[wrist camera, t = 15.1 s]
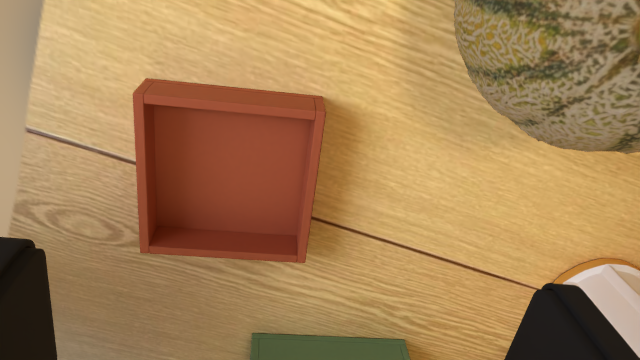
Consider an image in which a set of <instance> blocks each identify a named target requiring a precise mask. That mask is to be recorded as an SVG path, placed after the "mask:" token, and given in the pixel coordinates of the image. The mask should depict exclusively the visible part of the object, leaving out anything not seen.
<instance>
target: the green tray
mask: <svg viewBox="0 0 640 360" xmlns="http://www.w3.org/2000/svg"><path fill="white" fill-rule="evenodd" d="M250 360H410V357H409V353H408V350H407V347H406V343H405V340H400V339H377V338H353V337H330V336H307V335H284V334H260V333H253V334H252V343H251V355H250Z"/></svg>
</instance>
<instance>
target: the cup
mask: <svg viewBox="0 0 640 360" xmlns="http://www.w3.org/2000/svg"><path fill="white" fill-rule="evenodd" d="M553 283H556V284H568V285H576V286H579V287H580V288H581V289H582V290H583V291H584V292H585V293H586V294H587V296H588V297H589V298H590V299H591V300H592V302H593V303H594V304H595V305H596V306H597V308H598V309H599V310H600V311H601V312H602V314H603V315H604V316H605V317H606V318H607V320H608V321H609V322H610V323H611V324H612V326H613V327H614V328H615V329H616V330H617V332H618V333H619V334H620V335H621V336H622V338H623V339H624V340H625V341H626V342H627V344H628V345H629V346H630V347H631V348H632V350H633V351H634V352H635V353H636V354H637V356H638V357H639V358H640V270H639V269H638V268H637V267H636V266H634V265H632V264H630V263H628V262H625V261H623V260H618V259H605V258H601V259H597V260H593V261H589V262H586V263H583V264H580V265H578V266H576V267H574V268H572V269H570V270H569V271H567V272H565V273H564V274H562V275H560V276H559V277H558V278H557V279H556V280H555V281H554V282H553Z"/></svg>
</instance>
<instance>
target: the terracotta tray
mask: <svg viewBox="0 0 640 360" xmlns="http://www.w3.org/2000/svg"><path fill="white" fill-rule="evenodd" d="M133 108H134V129H135V151H136V172H137V194H138V215H139V237H140V253H150V254H166V255H183V256H199V257H215V258H232V259H248V260H264V261H281V262H299V263H305V259H306V252H307V245H308V237H309V230H310V223H311V216H312V209H313V202H314V195H315V187H316V180H317V173H318V166H319V159H320V152H321V144H322V137H323V130H324V123H325V116H326V111H325V107H324V103H323V98H322V96H313V95H303V94H293V93H284V92H274V91H264V90H254V89H245V88H235V87H225V86H215V85H206V84H196V83H186V82H177V81H167V80H157V79H147V78H146V79H145V80H144V81H143V82H142V84H141V85H140V86H139V87H138V88H137V89H136V90H135V91H134V93H133Z"/></svg>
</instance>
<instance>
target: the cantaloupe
mask: <svg viewBox="0 0 640 360" xmlns="http://www.w3.org/2000/svg"><path fill="white" fill-rule="evenodd" d="M454 17H455V23H454V26H455V33H456V39H457V43H458V47H459V50H460V53H461V56H462V58H463V60H464V62H465V65H466V67H467V69H468V74H469V76H470V78H471V80H472V82H473V83H474V84H476V87H477V89H478V91H479V92H481V94H482V96H483V97H484V98H485V99H486V100H487V101H488V103H489V104H491V106H492V107H493V108H494V109H495V110H496V111H497V112H498V113H500V114H501V115H503V116H506V117H508V118H509V119H510V120H512V121H513V122H514V123H515V124H516V125H518V126H519V127H520V129H521V130H523V131H525V132H526V133H527V134H528V135H529V136H531V137H533V138H536V139H537V140H538V141H543V142H545V143H548V144H550V145H553V146H556V147H559V148H563V149H573V150H580V151H587V152H588V151H617V152H623V153H626V154H627V153H634V152H640V0H455V12H454Z"/></svg>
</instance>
